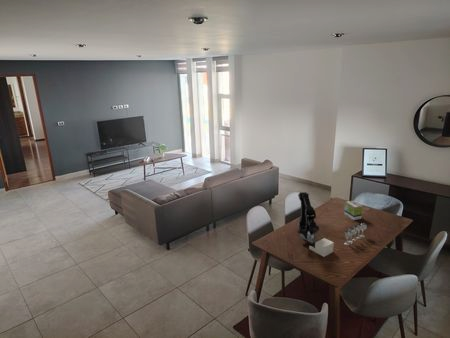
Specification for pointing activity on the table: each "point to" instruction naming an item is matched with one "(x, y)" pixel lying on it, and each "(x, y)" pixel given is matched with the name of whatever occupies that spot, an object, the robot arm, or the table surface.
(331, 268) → the table surface
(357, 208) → the tea box
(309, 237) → the tray
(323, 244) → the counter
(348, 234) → the goblet set
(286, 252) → the table surface
